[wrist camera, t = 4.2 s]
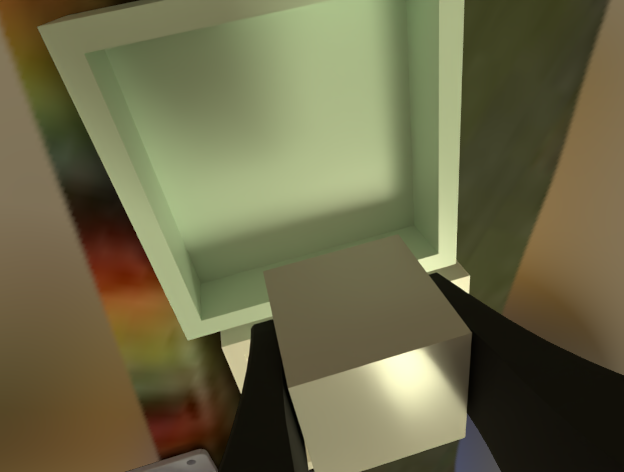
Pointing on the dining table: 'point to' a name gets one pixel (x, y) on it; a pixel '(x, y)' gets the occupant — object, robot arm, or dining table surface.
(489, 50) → the dining table surface
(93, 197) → the dining table surface
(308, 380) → the cream cube block
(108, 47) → the tub
